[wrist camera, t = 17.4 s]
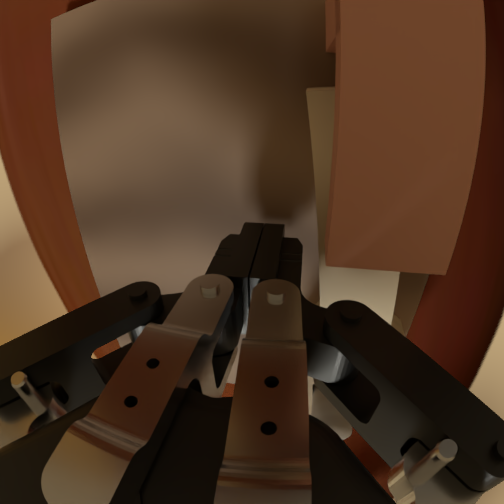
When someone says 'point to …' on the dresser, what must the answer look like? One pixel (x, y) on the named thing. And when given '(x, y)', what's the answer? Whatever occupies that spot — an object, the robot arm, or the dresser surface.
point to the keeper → (403, 130)
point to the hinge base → (194, 138)
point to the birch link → (330, 278)
